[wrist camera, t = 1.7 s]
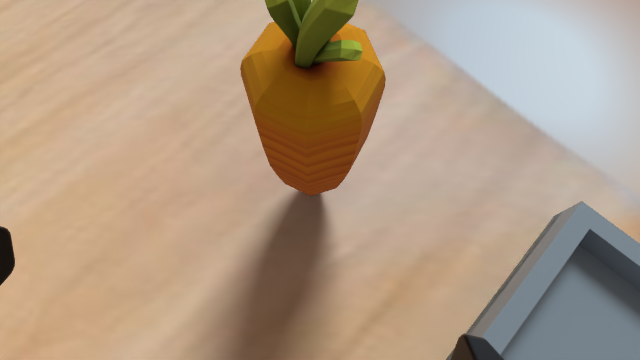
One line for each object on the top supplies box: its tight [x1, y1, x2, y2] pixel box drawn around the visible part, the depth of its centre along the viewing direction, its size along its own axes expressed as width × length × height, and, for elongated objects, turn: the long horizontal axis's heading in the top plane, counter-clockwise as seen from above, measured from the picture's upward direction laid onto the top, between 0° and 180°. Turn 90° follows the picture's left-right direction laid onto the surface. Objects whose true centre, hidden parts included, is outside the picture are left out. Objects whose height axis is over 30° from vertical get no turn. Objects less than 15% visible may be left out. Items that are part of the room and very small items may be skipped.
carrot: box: [240, 0, 386, 196], centre depth 16 cm, size 5×5×15 cm
